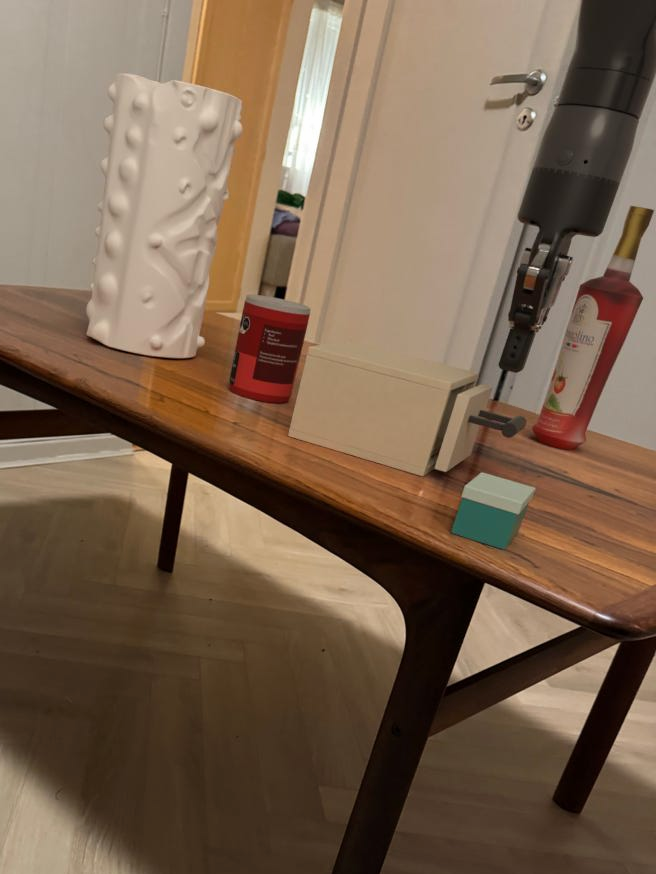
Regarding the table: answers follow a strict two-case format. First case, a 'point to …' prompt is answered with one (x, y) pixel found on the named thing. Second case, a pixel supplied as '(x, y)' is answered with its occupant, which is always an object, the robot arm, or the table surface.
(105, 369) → the table surface
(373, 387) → the cabinet
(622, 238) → the liquor
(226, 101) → the vase
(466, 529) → the small lidded box
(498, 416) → the drawer
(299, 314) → the canned food
